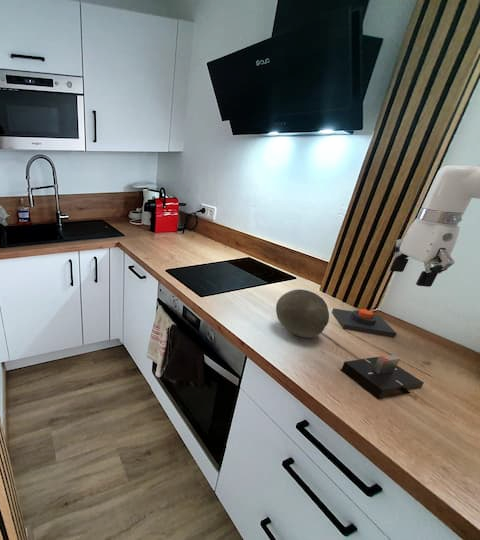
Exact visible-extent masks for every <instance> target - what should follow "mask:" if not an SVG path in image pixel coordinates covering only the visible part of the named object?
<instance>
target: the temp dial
mask: <svg viewBox="0 0 480 540" xmlns="http://www.w3.org/2000/svg"><path fill="white" fill-rule="evenodd" d="M378 357H379V358H378V360H377V362H376V364H375V366H374V368H373V370H372V371H373V372H375V373H376V374H378V375H380V374H386V373H392V372H394V370H395V368H396V366H398V364H399V362H400V360H401V358H400V357H399V356H397V355H395V354H390V355H389V354H388V355H382V356H378Z"/></svg>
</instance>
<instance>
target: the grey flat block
mask: <svg viewBox="0 0 480 540" xmlns="http://www.w3.org/2000/svg"><path fill="white" fill-rule="evenodd" d="M359 310H360V309H355V310H352V311H351V310H347V309H342V308H341V309H340V308H334V307H333V308H332V310H331V314H332V316H333V317H334V319H336V321H337V323H338V324H339V325H340V327H341V329H342V330H346V331H351V332H356V333H357V332H358V333H362V334H363V333H364V334H368V335H375V336H381V337H387V338H391V339H395V338H396V335H397V334H398V333H397V331H395V330H394V329H393V328H392V326H391V325H389V324H388V323H387V321H386V320H385V319H383V317H382V316H381V315H379V314H373V315H372V318H371V319H367V318H364V317H361V316H359V315H358V312H359Z"/></svg>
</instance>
